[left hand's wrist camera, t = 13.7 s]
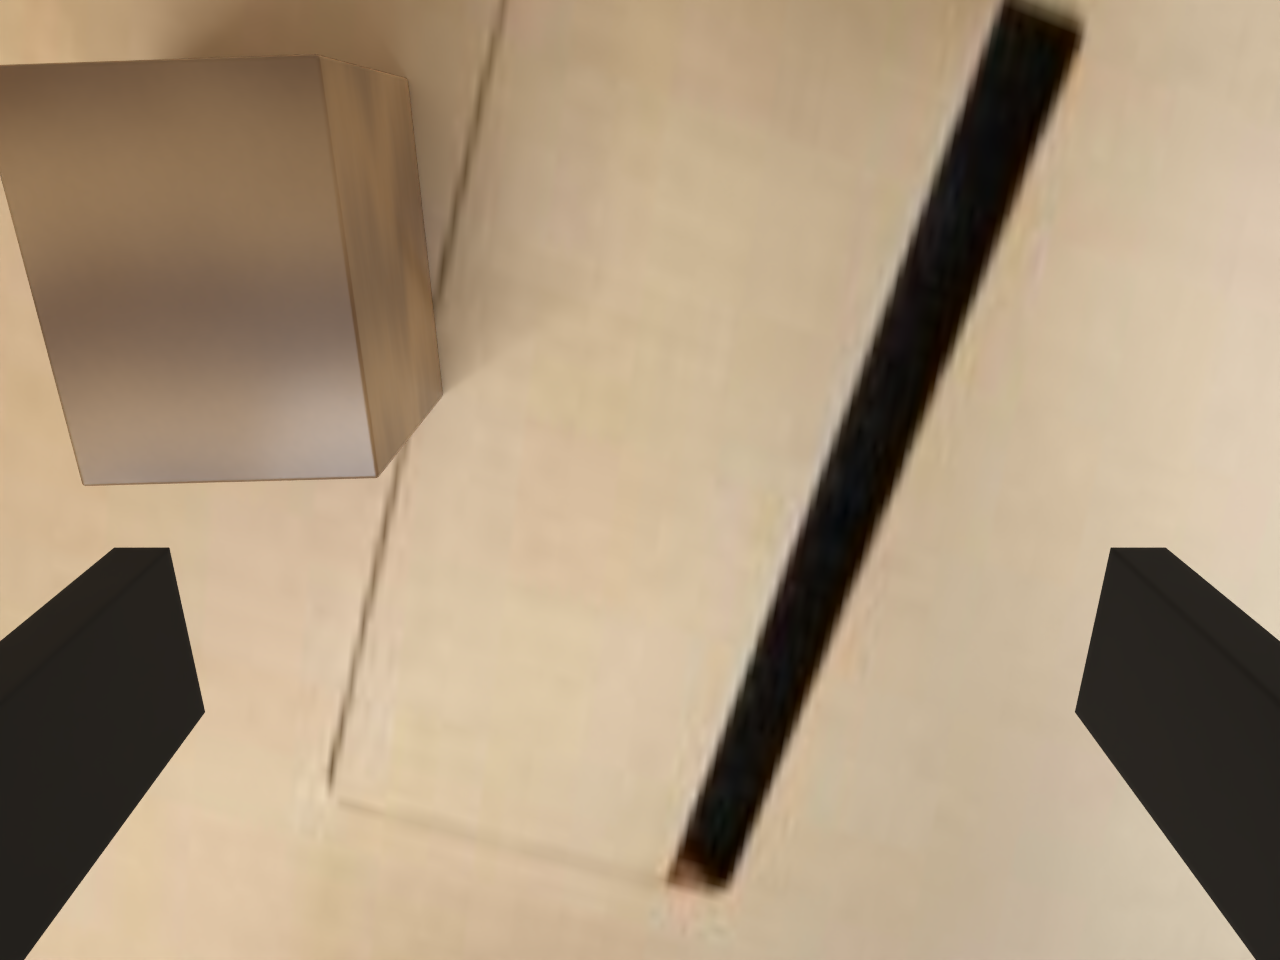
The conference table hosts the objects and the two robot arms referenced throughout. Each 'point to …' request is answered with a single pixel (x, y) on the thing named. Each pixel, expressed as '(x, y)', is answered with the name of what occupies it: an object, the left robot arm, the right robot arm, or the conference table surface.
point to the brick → (224, 263)
